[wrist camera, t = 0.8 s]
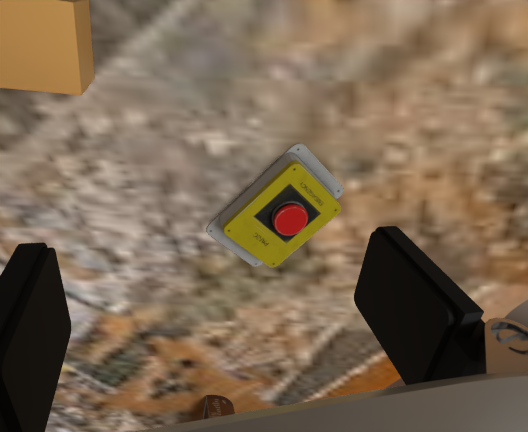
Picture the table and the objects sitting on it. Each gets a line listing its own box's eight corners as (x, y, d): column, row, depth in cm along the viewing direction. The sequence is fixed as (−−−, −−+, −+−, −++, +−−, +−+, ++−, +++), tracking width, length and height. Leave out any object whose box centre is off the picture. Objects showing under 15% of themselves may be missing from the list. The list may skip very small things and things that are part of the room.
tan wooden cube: (1, -14, 28) (-35, -14, 23) (88, -1, 29) (73, 2, 25) (16, 70, 31) (-13, 86, 26) (94, 78, 32) (81, 95, 27)
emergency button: (360, 206, 41) (262, 288, 45) (344, 188, 45) (255, 265, 48) (310, 152, 37) (205, 249, 40) (297, 137, 40) (202, 227, 43)
